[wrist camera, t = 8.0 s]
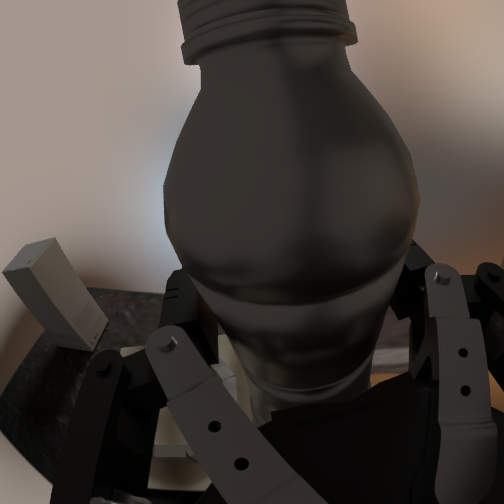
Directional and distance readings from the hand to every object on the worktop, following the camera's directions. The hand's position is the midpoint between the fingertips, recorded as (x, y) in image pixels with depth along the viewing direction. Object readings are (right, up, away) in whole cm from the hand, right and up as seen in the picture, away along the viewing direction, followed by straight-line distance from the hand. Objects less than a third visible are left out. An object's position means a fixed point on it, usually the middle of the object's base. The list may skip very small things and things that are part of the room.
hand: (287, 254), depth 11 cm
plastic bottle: (+2, -10, +4) cm, 11 cm away
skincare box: (-27, -13, +25) cm, 39 cm away
